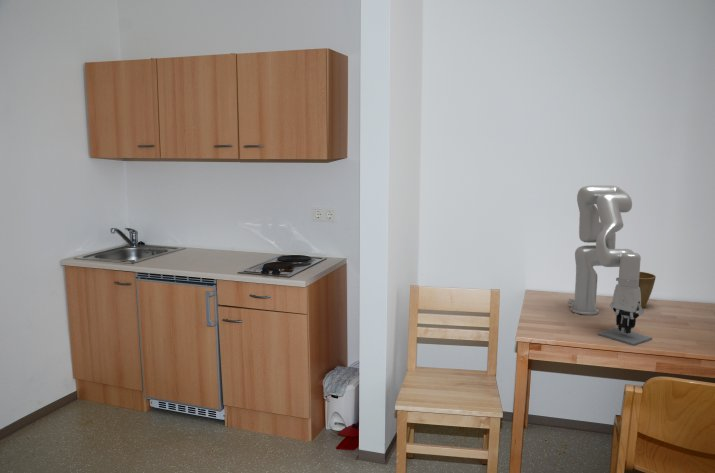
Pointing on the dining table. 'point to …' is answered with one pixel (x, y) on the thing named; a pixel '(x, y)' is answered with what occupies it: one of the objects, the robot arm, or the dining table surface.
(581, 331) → the dining table surface
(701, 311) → the dining table surface
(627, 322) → the black mechanical part
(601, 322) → the dining table surface
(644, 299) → the plant pot
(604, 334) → the mat
